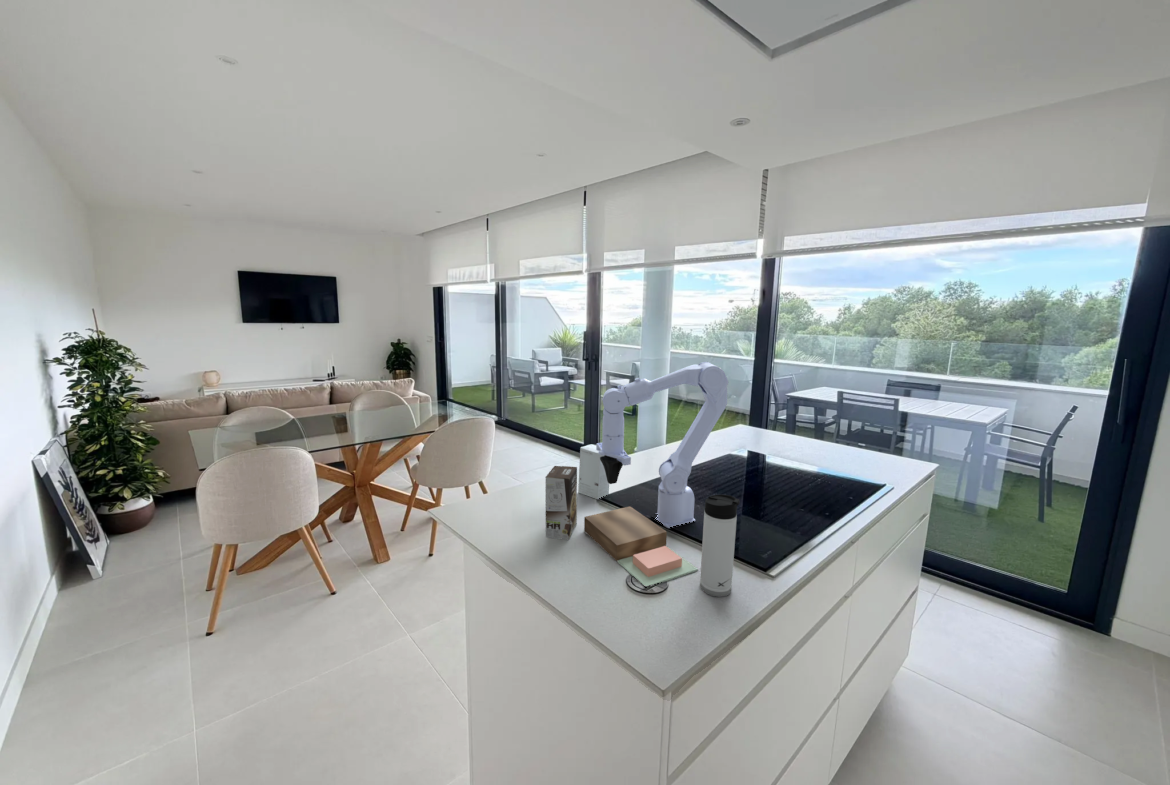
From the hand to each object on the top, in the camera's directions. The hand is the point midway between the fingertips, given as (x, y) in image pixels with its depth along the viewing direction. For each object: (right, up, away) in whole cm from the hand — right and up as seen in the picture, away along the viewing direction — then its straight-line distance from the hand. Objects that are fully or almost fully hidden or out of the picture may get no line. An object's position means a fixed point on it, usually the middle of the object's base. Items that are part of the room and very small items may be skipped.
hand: (612, 482), depth 123 cm
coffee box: (-13, -12, -5) cm, 18 cm away
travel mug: (+20, -16, -29) cm, 39 cm away
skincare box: (-4, -7, +19) cm, 20 cm away
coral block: (+9, -12, -22) cm, 26 cm away
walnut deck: (+2, -12, -9) cm, 15 cm away
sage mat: (+9, -15, -21) cm, 27 cm away
